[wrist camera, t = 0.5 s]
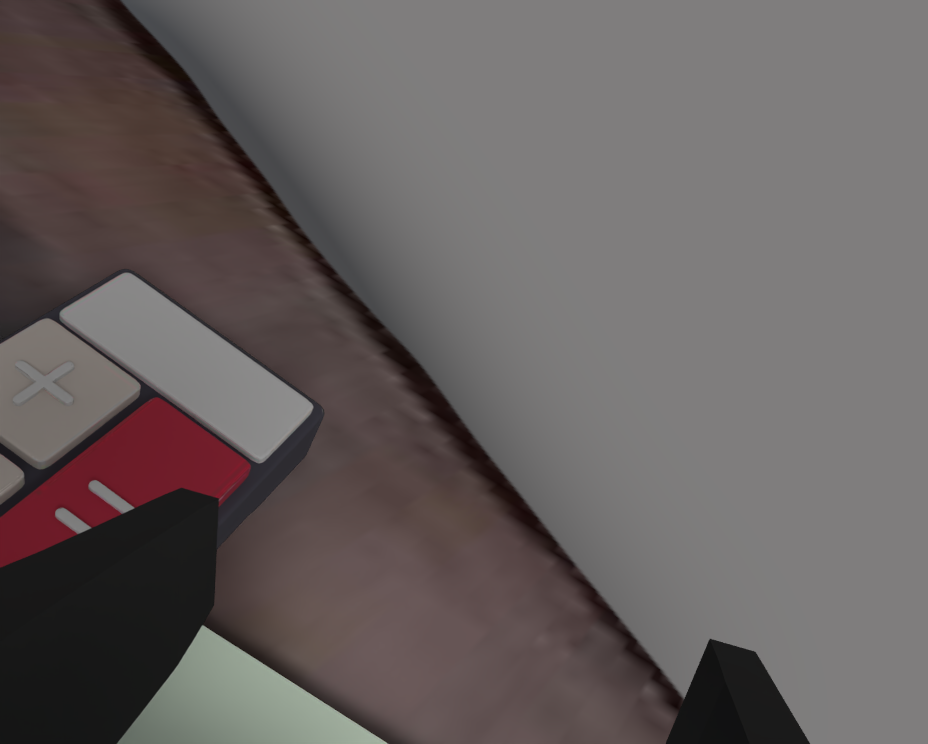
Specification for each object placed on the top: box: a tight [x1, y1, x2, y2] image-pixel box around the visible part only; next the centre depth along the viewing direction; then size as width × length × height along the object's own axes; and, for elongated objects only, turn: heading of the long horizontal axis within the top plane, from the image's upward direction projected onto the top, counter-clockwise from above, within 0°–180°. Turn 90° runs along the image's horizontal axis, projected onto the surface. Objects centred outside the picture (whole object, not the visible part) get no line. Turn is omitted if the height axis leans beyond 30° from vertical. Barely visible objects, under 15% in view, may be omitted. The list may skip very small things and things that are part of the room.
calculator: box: [0, 269, 324, 567], centre depth 27 cm, size 11×4×15 cm
